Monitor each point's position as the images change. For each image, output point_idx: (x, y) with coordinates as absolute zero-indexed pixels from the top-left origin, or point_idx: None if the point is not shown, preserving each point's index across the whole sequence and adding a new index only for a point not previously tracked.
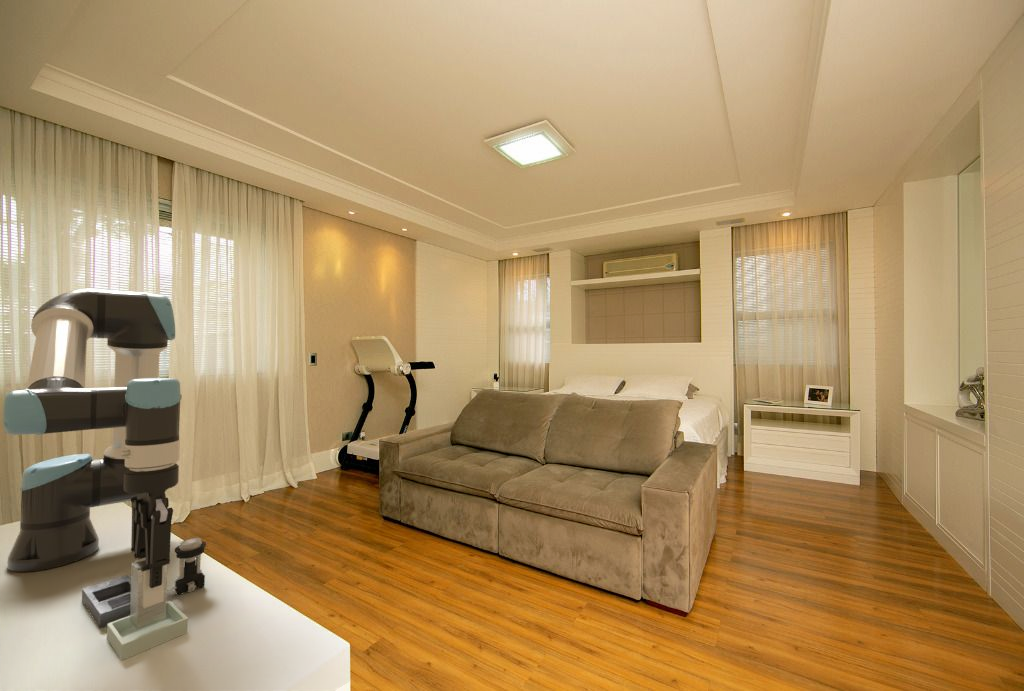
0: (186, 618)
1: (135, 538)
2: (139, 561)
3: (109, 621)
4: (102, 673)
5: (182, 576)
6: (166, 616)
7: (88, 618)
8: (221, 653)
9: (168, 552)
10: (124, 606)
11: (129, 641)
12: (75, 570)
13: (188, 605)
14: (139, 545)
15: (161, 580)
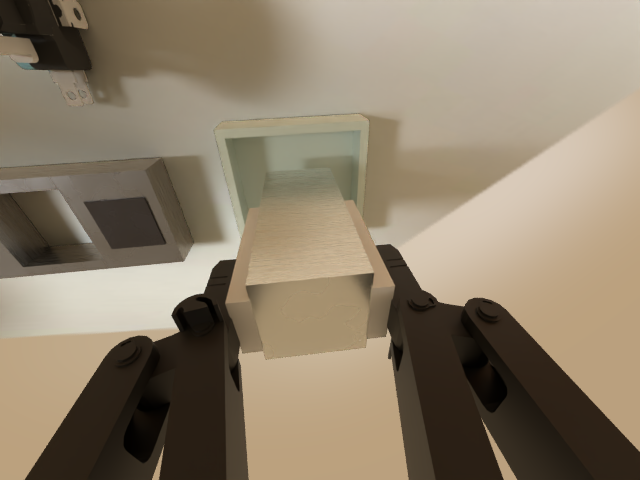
0: (368, 124)
1: (150, 470)
2: (263, 342)
3: (186, 233)
4: None
5: (26, 44)
6: (247, 137)
7: None
8: (517, 82)
9: (551, 365)
10: (168, 222)
11: None
12: None
13: (198, 62)
14: (242, 427)
15: (399, 256)
